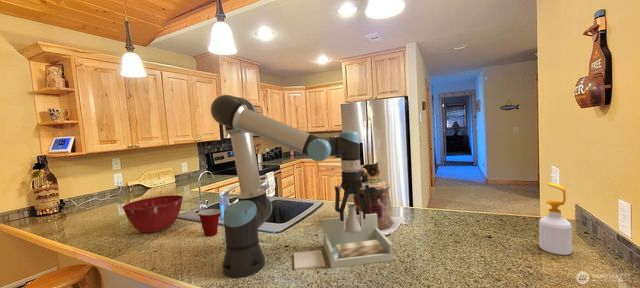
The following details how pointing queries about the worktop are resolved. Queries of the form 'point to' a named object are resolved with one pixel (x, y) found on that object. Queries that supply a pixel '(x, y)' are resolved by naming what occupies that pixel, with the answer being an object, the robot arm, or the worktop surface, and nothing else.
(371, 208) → the cookie jar
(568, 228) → the soap bottle
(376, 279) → the worktop surface
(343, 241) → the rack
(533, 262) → the worktop surface
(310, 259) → the mat
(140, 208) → the mixing bowl
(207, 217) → the plastic cup
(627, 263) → the worktop surface
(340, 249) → the light brown wooden block
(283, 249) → the worktop surface
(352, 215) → the flask
